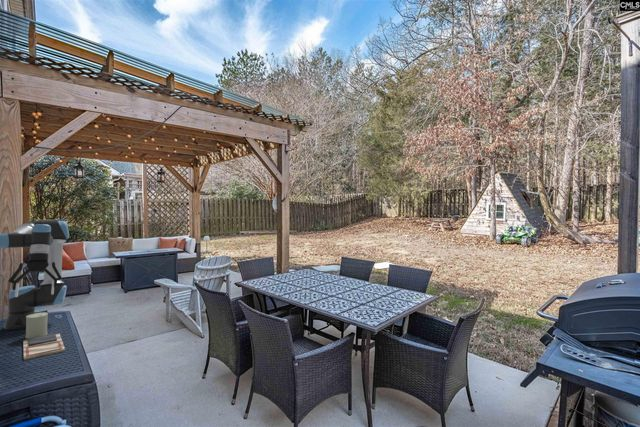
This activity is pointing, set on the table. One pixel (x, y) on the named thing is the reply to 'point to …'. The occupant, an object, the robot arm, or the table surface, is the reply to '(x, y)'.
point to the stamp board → (42, 346)
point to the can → (36, 325)
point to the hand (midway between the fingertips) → (34, 295)
